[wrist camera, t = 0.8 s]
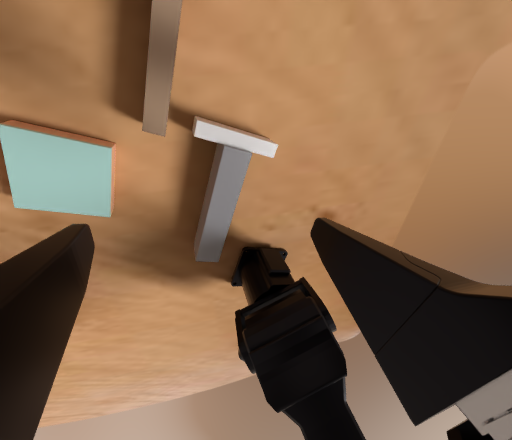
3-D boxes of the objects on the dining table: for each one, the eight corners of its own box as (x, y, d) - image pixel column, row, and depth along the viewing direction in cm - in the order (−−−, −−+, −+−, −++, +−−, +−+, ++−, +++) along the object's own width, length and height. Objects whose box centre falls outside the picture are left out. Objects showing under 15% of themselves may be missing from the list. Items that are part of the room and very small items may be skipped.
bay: (166, 129, 18) (165, 136, 16) (-80, 64, 12) (-128, 62, 10) (188, -48, 13) (190, -70, 11) (-191, -280, 8) (-318, -403, 6)
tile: (114, 206, 20) (110, 217, 19) (28, 195, 18) (14, 207, 16) (116, 141, 18) (111, 148, 16) (15, 118, 15) (-3, 124, 13)
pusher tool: (232, 246, 27) (238, 262, 24) (172, 242, 24) (172, 260, 21) (268, 138, 21) (280, 146, 19) (194, 115, 18) (197, 121, 16)
